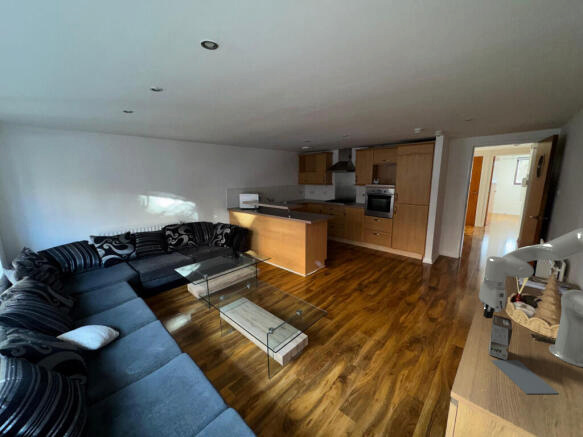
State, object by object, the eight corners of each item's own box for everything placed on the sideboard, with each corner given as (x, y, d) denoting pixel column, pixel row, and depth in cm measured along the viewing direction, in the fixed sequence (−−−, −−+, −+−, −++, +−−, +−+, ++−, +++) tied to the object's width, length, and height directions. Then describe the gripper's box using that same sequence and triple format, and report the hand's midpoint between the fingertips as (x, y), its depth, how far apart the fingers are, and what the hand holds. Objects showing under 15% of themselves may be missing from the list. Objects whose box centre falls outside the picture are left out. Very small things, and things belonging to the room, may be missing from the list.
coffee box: (507, 361, 102) (513, 330, 99) (488, 354, 106) (493, 324, 103) (505, 348, 109) (511, 319, 106) (488, 342, 113) (493, 313, 110)
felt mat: (518, 360, 103) (518, 360, 103) (558, 393, 87) (558, 393, 87) (491, 360, 103) (491, 360, 103) (526, 394, 87) (526, 393, 87)
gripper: (516, 290, 101) (509, 327, 105) (488, 275, 116) (483, 308, 119) (499, 290, 101) (492, 327, 105) (473, 275, 116) (468, 308, 119)
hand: (487, 317), depth 112 cm, fingers closed
